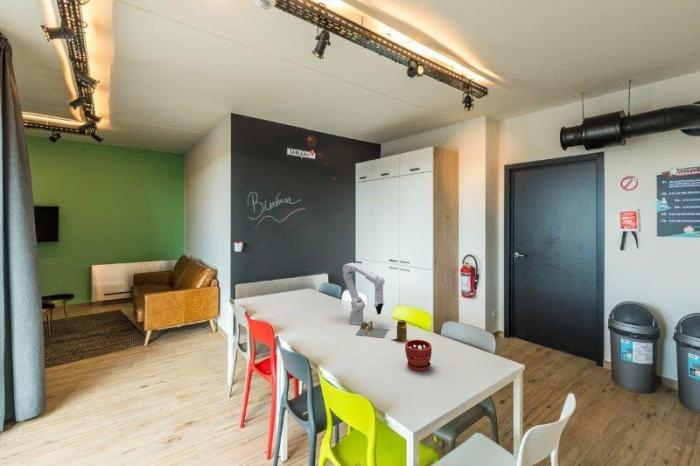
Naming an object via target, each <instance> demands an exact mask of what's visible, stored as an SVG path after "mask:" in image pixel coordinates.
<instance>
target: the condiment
mask: <svg viewBox="0 0 700 466" xmlns="http://www.w3.org/2000/svg"><path fill="white" fill-rule="evenodd" d="M396 323H397V324H396V338H392V339H391V340H392V341H393V342H394V343H397V344H402V343H406V342H408V341H410V339H407V337H408V336H407V329H408V327H407V321H406V320H402V319H399V320H397V322H396Z"/></svg>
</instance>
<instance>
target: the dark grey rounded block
mask: <svg viewBox="0 0 700 466" xmlns="http://www.w3.org/2000/svg"><path fill="white" fill-rule="evenodd" d="M369 324H371V330H372V327H373V321H371V320H370V321H369V322H365V323H364V322H361V325H360V328H361V329H365V328H366V327H367V326H368V325H369Z"/></svg>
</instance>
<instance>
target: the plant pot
mask: <svg viewBox="0 0 700 466" xmlns="http://www.w3.org/2000/svg"><path fill="white" fill-rule="evenodd" d="M404 343H405V344H404V349H405V350H404V351H405V356H406V360H407V366H408V367H409V368H410V369H411V370H413V371H418V372H419V371H421V372H423V371H427V370H428V369H430V367H431V365H432V364H431V362H430V361H431V358H432V353H433V352H432V351H433V350H432V344H431V343H430V342H429V341H426V340H424V339H411V340H410V339H409V341H407V342H404ZM419 346H421V348H419Z"/></svg>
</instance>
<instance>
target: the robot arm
mask: <svg viewBox="0 0 700 466" xmlns="http://www.w3.org/2000/svg"><path fill="white" fill-rule="evenodd" d="M341 269H342V273H343V275H342V278H343V280H344V281H345V282H344V283H345V285H346V287H347V290H348V293H349V295H350V298H351V301H350V305H351V309H352V310H351V311H350V312H349V313H350V314H349V325H357V326H361V322H364V323H366V321H365V320H364V309H365V307H366V304H365V301H363V298H361V296H360V295H359V293H358V291H357V288H356V286H355V283H354V280H353V278H352V276H353V274H354V273H358V274H361V275H363V277H365V279H366V280H367V281H369V282H371V283H372V284H373V286H374V305H373V306H374V307H375V310H376V314H377V315H381V314H382V310H383V307H384V304H385V300H384V284H385V279H384V277H383V276H379V275H376V274H375V273H374V272H373V271H367V270H365V268H362V267H361V266H360V265H359V264H357V263H355V262H350V263H345V264H344V265H343V266H342V268H341Z"/></svg>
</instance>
